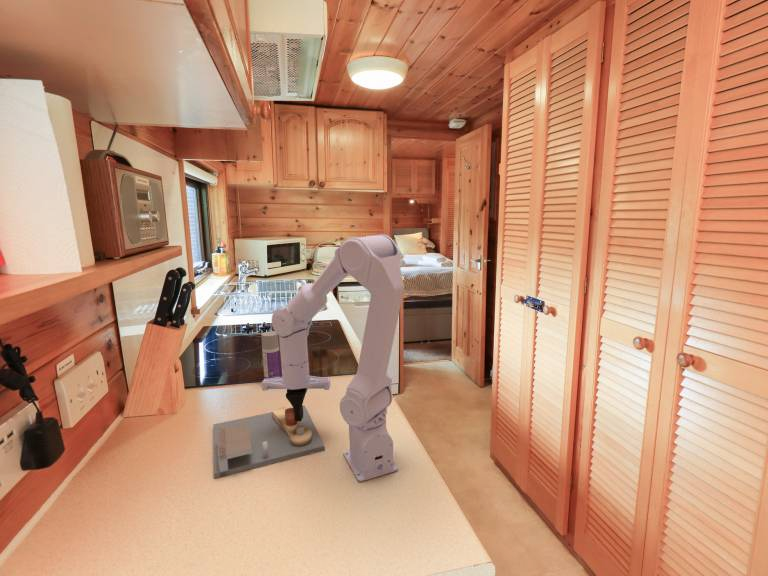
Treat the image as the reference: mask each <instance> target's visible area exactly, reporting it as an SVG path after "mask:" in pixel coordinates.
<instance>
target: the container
mask: <svg viewBox="0 0 768 576" xmlns="http://www.w3.org/2000/svg"><path fill="white" fill-rule="evenodd" d="M260 337H261V350H262V353H261V354H262V365H263V377H264V379H269V378H277V377H282V366H281V354H280V341H279V335H278V334H277V333H276V332H275V330H274V331H272V330H271V331H265V332H261V335H260ZM264 379H263V380H264Z"/></svg>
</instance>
